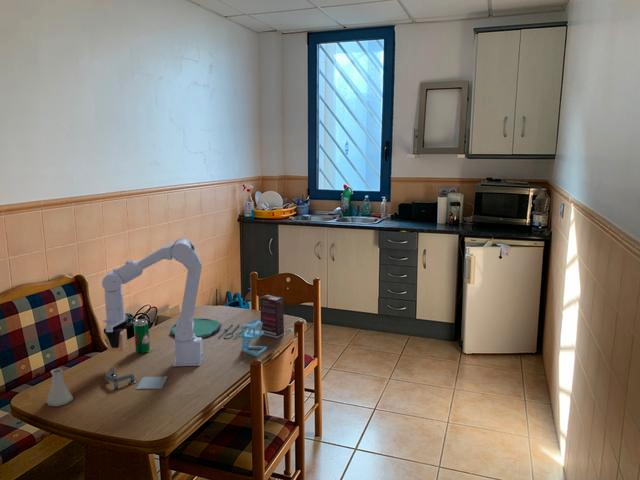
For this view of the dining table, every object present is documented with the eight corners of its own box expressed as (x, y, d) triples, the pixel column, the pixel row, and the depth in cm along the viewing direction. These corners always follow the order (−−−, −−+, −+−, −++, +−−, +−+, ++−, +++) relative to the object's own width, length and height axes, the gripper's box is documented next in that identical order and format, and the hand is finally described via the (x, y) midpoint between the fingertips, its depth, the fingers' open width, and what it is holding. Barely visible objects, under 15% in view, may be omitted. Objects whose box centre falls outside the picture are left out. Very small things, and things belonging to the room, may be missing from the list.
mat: (167, 377, 171) (167, 376, 171) (161, 388, 163) (161, 387, 163) (143, 377, 170) (143, 377, 170) (136, 389, 163) (136, 388, 163)
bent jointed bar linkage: (141, 373, 173) (141, 365, 173) (132, 388, 163) (131, 380, 162) (110, 374, 173) (109, 366, 172) (98, 389, 162) (98, 381, 162)
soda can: (145, 354, 189) (143, 324, 186) (133, 353, 190) (130, 323, 187) (152, 349, 194) (150, 319, 191) (140, 348, 195) (138, 318, 192)
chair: (248, 345, 197) (247, 316, 195) (267, 349, 194) (266, 319, 192) (237, 353, 190) (236, 322, 188) (256, 356, 187) (255, 325, 185)
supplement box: (284, 334, 208) (284, 297, 205) (277, 338, 204) (276, 300, 201) (267, 330, 213) (267, 294, 210) (260, 334, 209) (259, 297, 206)
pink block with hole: (127, 345, 180) (126, 329, 179) (123, 350, 175) (121, 334, 174) (113, 345, 179) (111, 329, 178) (108, 351, 175) (106, 334, 173)
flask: (55, 409, 151) (52, 378, 149) (41, 403, 154) (38, 372, 152) (78, 399, 157) (75, 368, 155) (64, 393, 160) (61, 363, 158)
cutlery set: (184, 320, 224) (184, 315, 224) (250, 326, 219) (250, 321, 218) (162, 338, 205) (162, 332, 205) (233, 345, 200) (233, 340, 199)
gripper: (109, 300, 181) (112, 336, 184) (94, 314, 167) (98, 353, 170) (130, 300, 182) (132, 336, 184) (116, 313, 167) (120, 352, 170)
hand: (117, 344), depth 177 cm, fingers closed on pink block with hole, 5 cm apart
